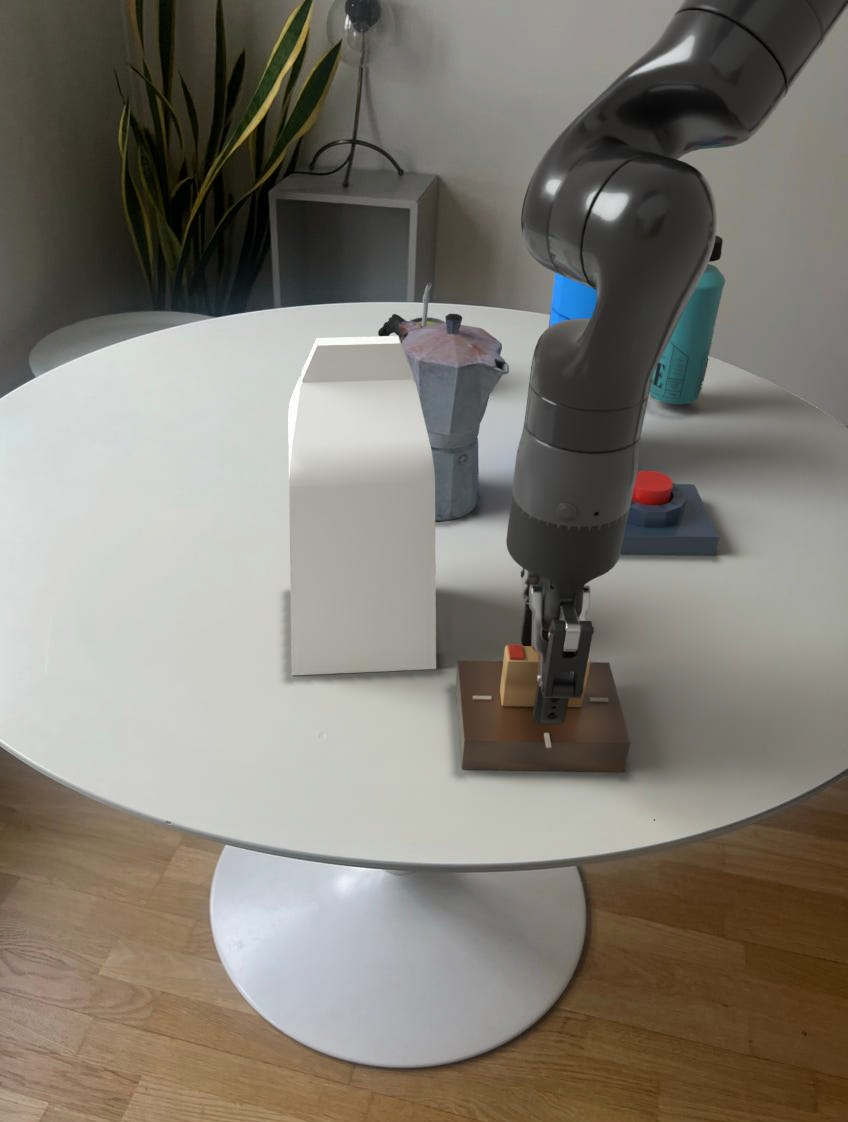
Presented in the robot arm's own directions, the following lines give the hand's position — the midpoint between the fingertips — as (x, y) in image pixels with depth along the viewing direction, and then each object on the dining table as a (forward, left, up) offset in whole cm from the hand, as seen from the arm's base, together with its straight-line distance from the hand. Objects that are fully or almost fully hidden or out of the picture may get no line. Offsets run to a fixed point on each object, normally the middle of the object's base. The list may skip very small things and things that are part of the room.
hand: (540, 680), depth 72 cm
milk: (+14, -12, -5) cm, 19 cm away
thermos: (-10, -43, -5) cm, 44 cm away
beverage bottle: (-23, -57, -5) cm, 62 cm away
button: (-14, -29, -1) cm, 32 cm away
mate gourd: (+7, -61, -5) cm, 62 cm away
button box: (-14, -29, -5) cm, 33 cm away
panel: (0, 0, -5) cm, 5 cm away
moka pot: (+7, -34, -5) cm, 35 cm away
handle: (0, 0, -2) cm, 2 cm away
